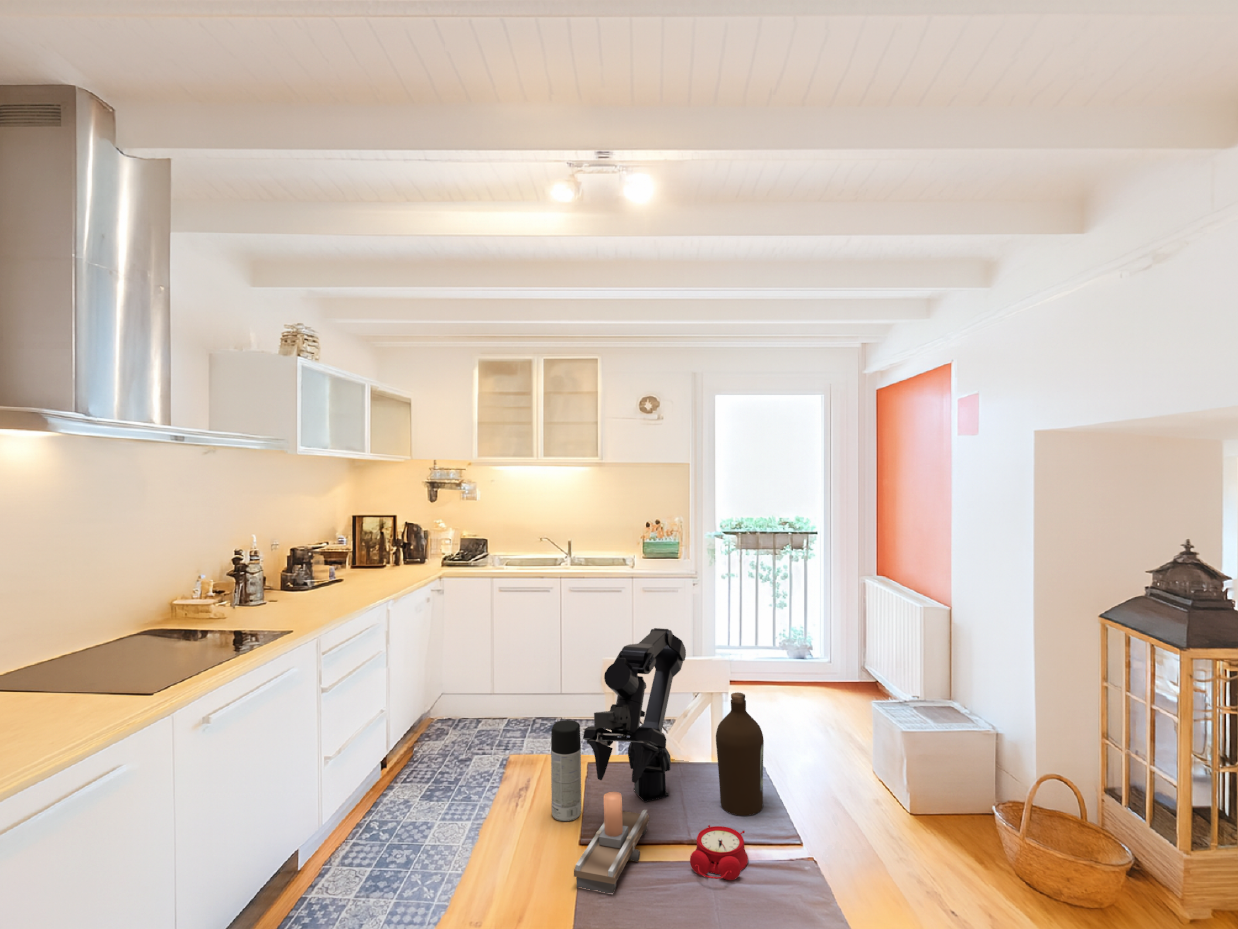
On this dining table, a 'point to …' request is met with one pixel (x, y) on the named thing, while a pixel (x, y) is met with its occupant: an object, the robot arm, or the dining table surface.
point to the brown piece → (610, 856)
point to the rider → (613, 822)
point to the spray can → (566, 770)
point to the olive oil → (740, 760)
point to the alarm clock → (719, 853)
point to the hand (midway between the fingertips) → (616, 781)
